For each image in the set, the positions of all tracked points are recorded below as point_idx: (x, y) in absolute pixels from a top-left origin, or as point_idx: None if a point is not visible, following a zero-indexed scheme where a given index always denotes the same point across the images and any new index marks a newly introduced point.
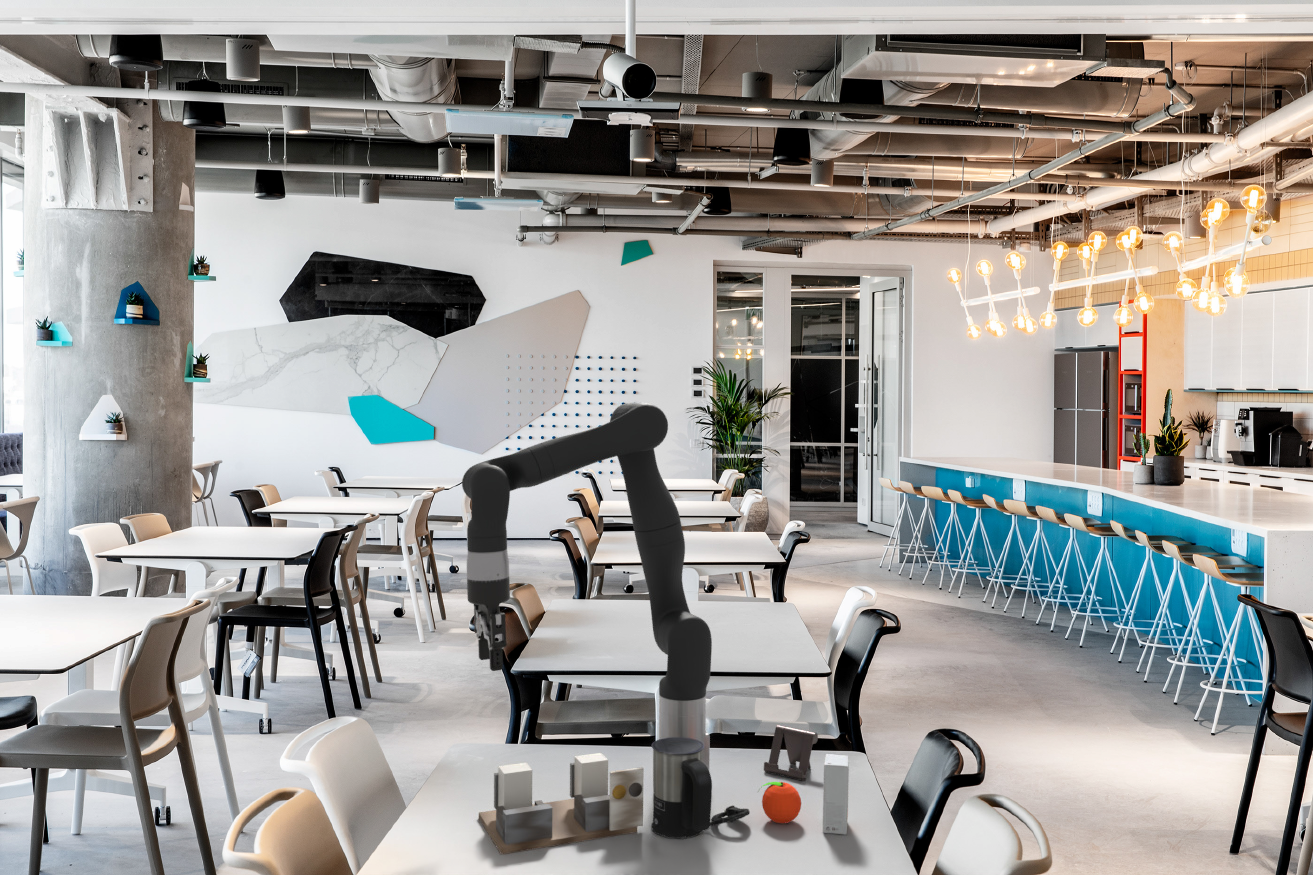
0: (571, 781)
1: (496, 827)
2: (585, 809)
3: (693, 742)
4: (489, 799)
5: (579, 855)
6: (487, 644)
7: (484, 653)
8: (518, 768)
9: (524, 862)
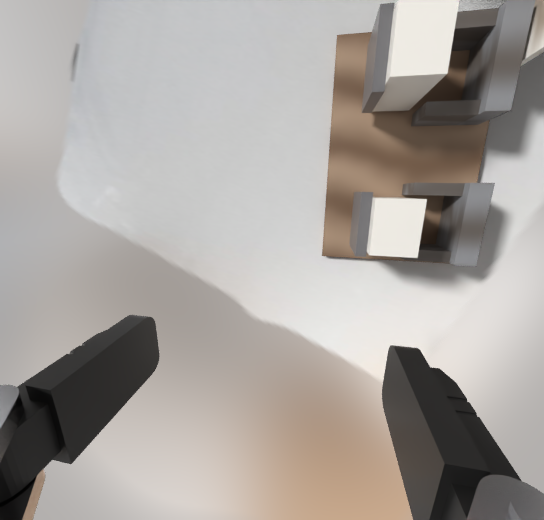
0: (375, 103)
1: None
2: (495, 115)
3: None
4: (265, 222)
5: (530, 159)
6: (92, 382)
7: (137, 363)
8: (401, 222)
9: (501, 241)
